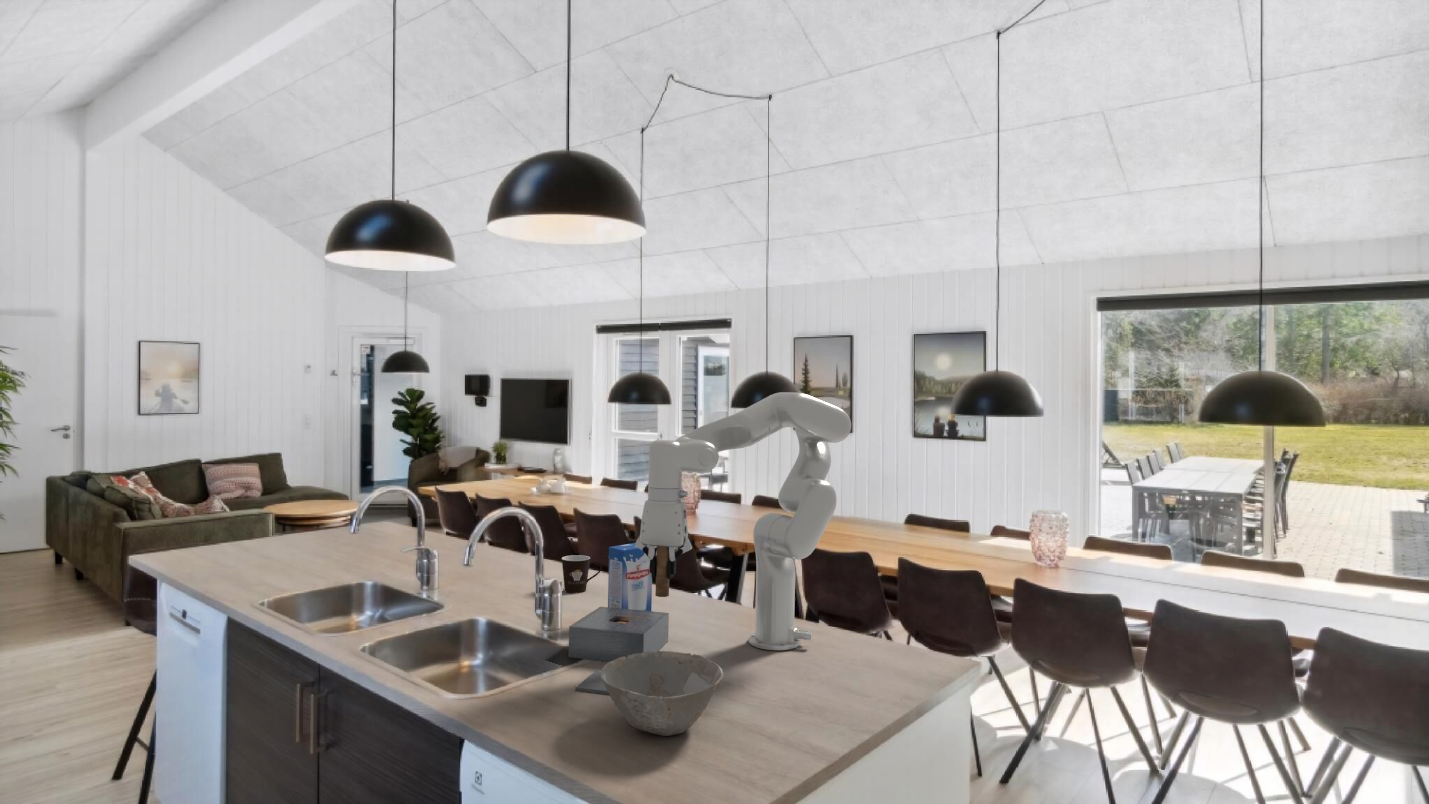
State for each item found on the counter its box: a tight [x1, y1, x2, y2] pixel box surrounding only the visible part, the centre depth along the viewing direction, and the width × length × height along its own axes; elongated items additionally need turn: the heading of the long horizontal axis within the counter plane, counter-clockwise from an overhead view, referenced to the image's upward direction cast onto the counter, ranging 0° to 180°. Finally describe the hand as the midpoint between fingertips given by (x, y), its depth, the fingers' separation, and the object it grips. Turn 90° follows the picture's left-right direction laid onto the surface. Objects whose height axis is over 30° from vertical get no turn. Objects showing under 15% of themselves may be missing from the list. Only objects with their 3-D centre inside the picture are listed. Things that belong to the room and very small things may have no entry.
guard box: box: [568, 606, 670, 663], centre depth 184 cm, size 18×18×7 cm
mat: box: [575, 670, 609, 695], centre depth 161 cm, size 10×10×1 cm
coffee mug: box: [561, 554, 603, 594], centre depth 238 cm, size 12×9×10 cm
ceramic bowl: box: [600, 650, 724, 737], centre depth 141 cm, size 22×23×10 cm
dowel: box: [654, 546, 670, 598], centre depth 175 cm, size 3×3×14 cm
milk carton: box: [607, 542, 653, 611], centre depth 207 cm, size 10×6×20 cm, turn 136°
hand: (662, 576), depth 175 cm, fingers closed on dowel, 3 cm apart
